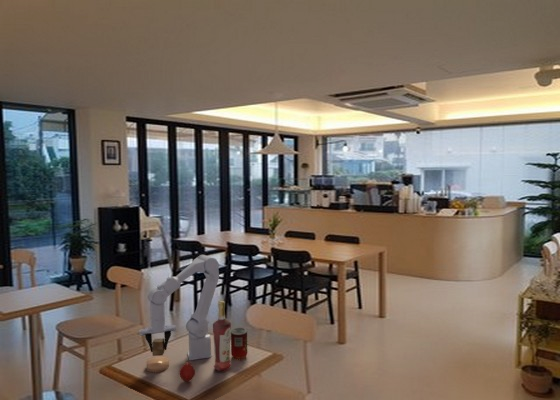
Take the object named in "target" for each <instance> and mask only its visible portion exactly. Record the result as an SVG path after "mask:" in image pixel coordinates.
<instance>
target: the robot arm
mask: <svg viewBox="0 0 560 400" xmlns="http://www.w3.org/2000/svg"><path fill="white" fill-rule="evenodd" d="M219 269H220V263H219V262H218V260H217V258H215V257H211V256H208V255H206V254H200V255H199V256H197V257H196V258H194V259H193V260H192V262H191V263H190V264H188V265H187V266H186V267H185V268H184V269H183V270H182V271H181V272H179V273H178V274H177V275H176V276H170V277H169V276H168V277H167V278H166V280H165V281H163V282H162V283H161V284H160V285H157V286H156V287H154V288H152V289H150V291H149V293H148V294H147V296H146V297H147V299H148V301H149V314H150V315H149V316H150V320H149V321H150V327H146V328H142V329H139V331H138V332H139V337H142V336H145V340H146V342H147V344H148V346H149V348H150V353H153V351H152V342H153V338H152V337H153V335H154V334H163V335H164V349H165V351H167V349H168V343H169V340H170V339H171V335H172V332H175V333H176V332H177V325H175V324H174V325H166V317H165V316H166V315H165V314H166V313H165V312H166V311H165V310H166V309H165V307H166V306H165V304H166V303H165V302H167V299H168V297H169V296H170V295H172V294H173V293H174V292H176V291H177V290H178V289H179V288H181V284H182V283H183V282H185V280H187V279H188V278H190V277H191V276H192V275H195V274H196V273H203V274H204V276H205V281H204V284H203V287H202V290H201V292H200V297H199V299H198V302H197V305H196V309H195V312H193V313H192V314H191V316H190V317H189V320H188V321H187V322H186V325H185V329H186V331H187V332H188V351H187V353H186V354H187V357H188V360H189V361H195V360H200V359H201V360H202V359H208V358H212V344H211V343H212V341H211V335H210V333H208V332H209V331H208V330H209V318H208V314H209V311H210V307H211V303H212V301H213V298H214V295H215V292H216V288H217V286H218V283H219V279H220V270H219Z"/></svg>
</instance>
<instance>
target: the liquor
mask: <svg viewBox="0 0 560 400" xmlns="http://www.w3.org/2000/svg"><path fill="white" fill-rule="evenodd" d="M217 307H218V317H217V320H216V321H214V322H213V323H212V336H213V347H214V348H213V349H214V365H213V367H214V369H215V370H216V371H218V372H226V371H228V370H229V369H230V368H231V366H232V364H231V331H232V330H231V328H232V324H231V322H230V321H229V320H227V319H226V312H225V308H226V301H224V300H220V301H219V300H218V302H217Z"/></svg>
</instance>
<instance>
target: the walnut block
mask: <svg viewBox="0 0 560 400" xmlns="http://www.w3.org/2000/svg"><path fill="white" fill-rule="evenodd" d="M164 342H165V337H164V338H154V339H153V340H152V351H153V352H152V357H158V356H164V354H165V351H166V350H165V349H164Z"/></svg>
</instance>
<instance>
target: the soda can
mask: <svg viewBox="0 0 560 400" xmlns="http://www.w3.org/2000/svg"><path fill="white" fill-rule="evenodd" d="M247 355H248V331H247V329H246V328H243V327H236V328H235V327H234V328H233V329H232V330H231V337H230V356H231V357H232V359H233V360H235V361H243V360H245V359H246V358H247Z"/></svg>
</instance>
